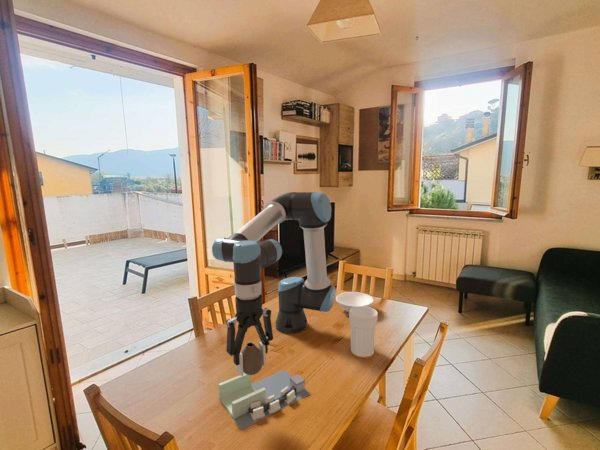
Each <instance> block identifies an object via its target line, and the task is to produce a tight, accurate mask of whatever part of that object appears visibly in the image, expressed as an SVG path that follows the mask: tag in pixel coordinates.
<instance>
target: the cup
mask: <svg viewBox="0 0 600 450" xmlns="http://www.w3.org/2000/svg"><path fill="white" fill-rule="evenodd" d="M378 316H379V313H378V311H377V310H376V308H373V307H371V306H370V307H366V306H356V307H353V308H351V309H350V310H349V312H348V322H349V324H350V353H351V355H353V356H354V358H355V357H356V358H358V359H363V358H364V359H365V358H366V359H370V358H372V357H373V356H374V353H375V352H374V351H375V349H374V348H375V333H376V326H377V325H378ZM366 359H365V360H366Z"/></svg>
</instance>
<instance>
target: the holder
mask: <svg viewBox="0 0 600 450" xmlns="http://www.w3.org/2000/svg"><path fill="white" fill-rule="evenodd" d="M251 376H252V375H247V374H245V373H244V372H243V376H241V375H240V374H238V375H237V376H234V377H232V378H229V379H227V380H225V381H222V382H220V383H218V399H219V398H220V399H219V400H221V401H222V402H221V401H220V402H221V403H223V404H224V405H223V404H222V405H223V406H224V408H225V407H226V408H225V409H226V411H227V410H228V411H229V412H228V411H227V412H228V413H230V414H231V415H230V414H229V415H230V417H231V418H232V417H233V418H232V419H233V421H234V420H235V419H237V418H239V417H241V416H243V415H245V414H247V413H249V408H250V404H251V403H254V402H257V401H260V402H261V406H263V405H265V399H266V389H265V388H261V389H259V390H257V391H256V390H255V389H254V388H253V387H252V386H251V384H252V377H251Z"/></svg>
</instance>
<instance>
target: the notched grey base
mask: <svg viewBox="0 0 600 450" xmlns="http://www.w3.org/2000/svg"><path fill="white" fill-rule="evenodd" d="M292 390H295V391H296V387H295V386H292V388H291V389H290V390H289V391H288V392H287V393H286V394H284V395H283V396H281V397H279V398H278V399H276V400H279V404H281V403H283V402H284V401H285V400H287V394H288V393H289V392H291V391H292ZM276 400H274V401H276ZM274 401H272V402H274ZM272 402H270V403H272ZM270 403H268V404H265V405H263V408H264V412H265V411H267V410H268V409H270ZM260 407H262V406H260ZM258 408H259V407H258ZM253 409H256V408H253ZM253 409H251V408H249V413H253Z"/></svg>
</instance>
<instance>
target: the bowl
mask: <svg viewBox="0 0 600 450" xmlns="http://www.w3.org/2000/svg"><path fill="white" fill-rule="evenodd" d="M335 301H336V304H337V305H338V306H339V307H341V308H343V310H345V312H347V313H349V310H350V309H351V308H353V307H356V306H366V307H370V308H371V307H372V305H373V303H374V297H373V296H371V295H369V294H367V293H364V292H359V291H346V292H341V293H339V294H336V295H335Z"/></svg>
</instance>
